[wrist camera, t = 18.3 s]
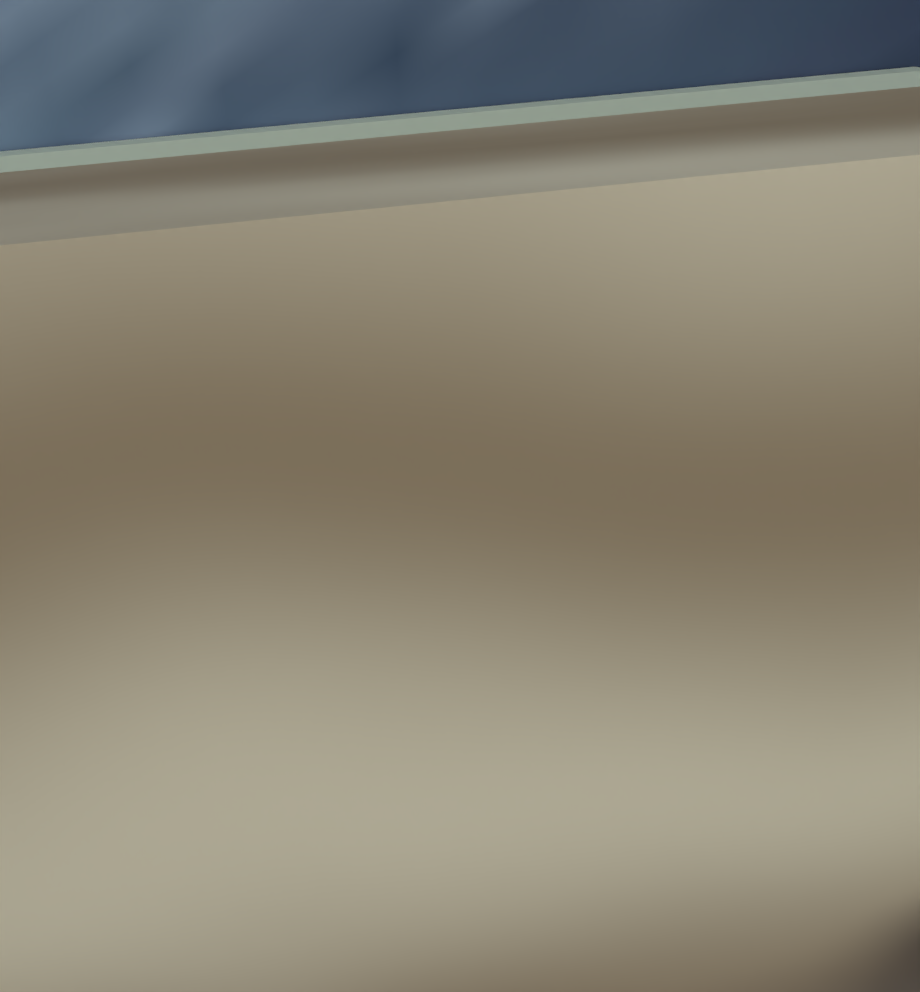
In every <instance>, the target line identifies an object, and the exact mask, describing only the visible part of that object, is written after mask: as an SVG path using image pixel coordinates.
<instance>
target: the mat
mask: <svg viewBox="0 0 920 992" xmlns="http://www.w3.org/2000/svg"><path fill="white" fill-rule="evenodd" d="M909 87H920V67H906V68H895V69H884V70H874V71H863V72H852V73H841V74H831V75H820V76H809V77H798V78H788V79H777V80H766V81H755V82H744V83H734V84H723V85H712V86H701V87H691V88H680V89H669V90H658V91H647V92H637V93H626V94H615V95H604V96H594V97H583V98H572V99H561V100H550V101H540V102H529V103H518V104H507V105H497V106H486V107H475V108H464V109H453V110H443V111H432V112H421V113H410V114H400V115H389V116H378V117H367V118H356V119H346V120H335V121H324V122H313V123H303V124H292V125H281V126H270V127H259V128H249V129H238V130H227V131H216V132H206V133H195V134H184V135H173V136H162V137H152V138H141V139H130V140H119V141H109V142H98V143H87V144H76V145H66V146H55V147H44V148H33V149H22V150H12V151H1V152H0V173H3V172H13V171H24V170H35V169H45V168H56V167H67V166H77V165H88V164H99V163H109V162H120V161H131V160H141V159H152V158H163V157H173V156H184V155H195V154H205V153H216V152H227V151H237V150H248V149H259V148H269V147H280V146H291V145H301V144H312V143H323V142H333V141H344V140H354V139H365V138H376V137H386V136H397V135H408V134H418V133H429V132H440V131H450V130H461V129H472V128H482V127H493V126H504V125H514V124H525V123H536V122H546V121H557V120H568V119H578V118H589V117H600V116H610V115H621V114H632V113H642V112H653V111H664V110H674V109H685V108H696V107H706V106H717V105H728V104H738V103H749V102H760V101H770V100H781V99H792V98H802V97H813V96H824V95H834V94H845V93H856V92H866V91H877V90H888V89H898V88H909Z"/></svg>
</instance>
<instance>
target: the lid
mask: <svg viewBox="0 0 920 992" xmlns="http://www.w3.org/2000/svg"><path fill="white" fill-rule="evenodd" d="M0 992H920V87H909V88H898V89H888V90H877V91H866V92H856V93H845V94H834V95H824V96H813V97H802V98H792V99H781V100H770V101H760V102H749V103H738V104H728V105H717V106H706V107H696V108H685V109H674V110H664V111H653V112H642V113H632V114H621V115H610V116H600V117H589V118H578V119H568V120H557V121H546V122H536V123H525V124H514V125H504V126H493V127H482V128H472V129H461V130H450V131H440V132H429V133H418V134H408V135H397V136H386V137H376V138H365V139H354V140H344V141H333V142H323V143H312V144H301V145H291V146H280V147H269V148H259V149H248V150H237V151H227V152H216V153H205V154H195V155H184V156H173V157H163V158H152V159H141V160H131V161H120V162H109V163H99V164H88V165H77V166H67V167H56V168H45V169H35V170H24V171H13V172H3V173H0Z"/></svg>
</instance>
